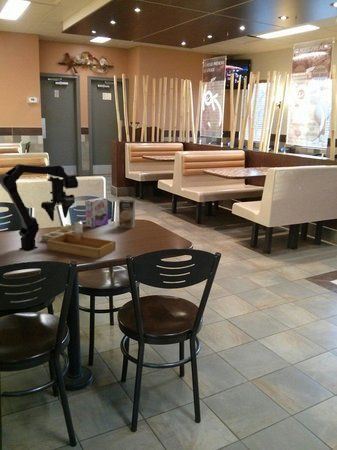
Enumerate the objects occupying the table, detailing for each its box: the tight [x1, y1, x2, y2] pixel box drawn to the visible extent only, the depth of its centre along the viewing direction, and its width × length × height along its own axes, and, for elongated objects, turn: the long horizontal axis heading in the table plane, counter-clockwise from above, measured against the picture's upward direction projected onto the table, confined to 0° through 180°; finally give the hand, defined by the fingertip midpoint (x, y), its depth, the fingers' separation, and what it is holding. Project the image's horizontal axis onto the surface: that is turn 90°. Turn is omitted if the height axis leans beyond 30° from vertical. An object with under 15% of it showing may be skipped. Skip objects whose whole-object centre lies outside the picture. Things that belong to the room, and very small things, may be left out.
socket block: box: [41, 228, 74, 242], centre depth 222 cm, size 16×10×3 cm, turn 154°
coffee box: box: [118, 199, 136, 229], centre depth 247 cm, size 9×6×16 cm
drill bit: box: [73, 221, 84, 241], centre depth 201 cm, size 4×4×9 cm
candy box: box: [84, 197, 109, 229], centre depth 250 cm, size 14×6×16 cm, turn 143°
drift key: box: [60, 226, 71, 232], centre depth 226 cm, size 2×5×5 cm, turn 64°
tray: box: [46, 233, 116, 260], centre depth 202 cm, size 31×15×6 cm, turn 66°
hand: (59, 219), depth 211 cm, fingers open, 9 cm apart
